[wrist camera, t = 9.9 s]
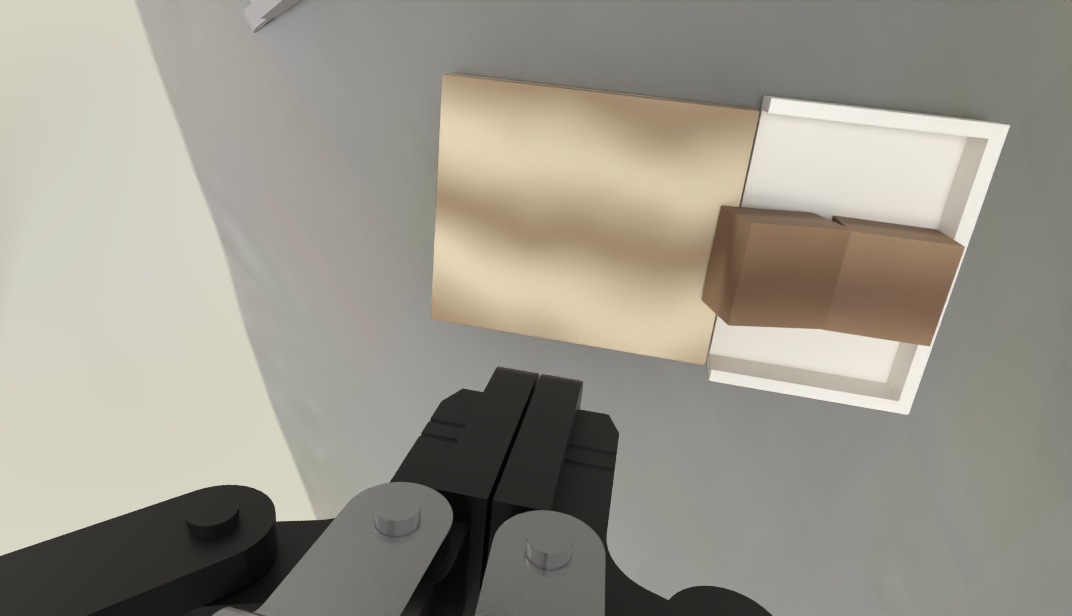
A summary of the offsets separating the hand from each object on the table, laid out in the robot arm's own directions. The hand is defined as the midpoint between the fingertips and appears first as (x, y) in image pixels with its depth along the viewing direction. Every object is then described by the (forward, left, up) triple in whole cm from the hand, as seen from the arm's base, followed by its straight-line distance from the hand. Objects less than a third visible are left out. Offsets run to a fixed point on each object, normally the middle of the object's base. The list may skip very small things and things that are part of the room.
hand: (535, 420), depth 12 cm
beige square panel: (+2, -2, -23) cm, 23 cm away
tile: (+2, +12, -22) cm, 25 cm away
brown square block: (+2, +7, -21) cm, 22 cm away
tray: (+2, +10, -23) cm, 25 cm away
